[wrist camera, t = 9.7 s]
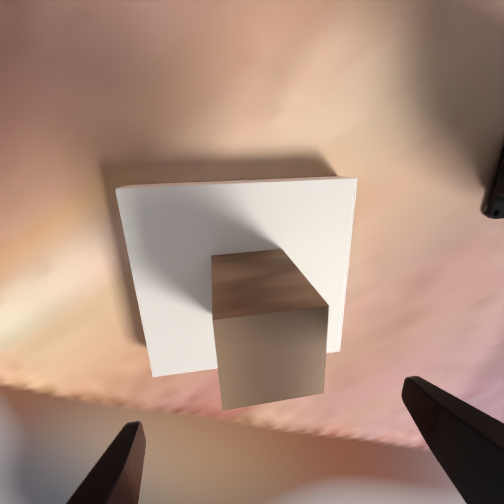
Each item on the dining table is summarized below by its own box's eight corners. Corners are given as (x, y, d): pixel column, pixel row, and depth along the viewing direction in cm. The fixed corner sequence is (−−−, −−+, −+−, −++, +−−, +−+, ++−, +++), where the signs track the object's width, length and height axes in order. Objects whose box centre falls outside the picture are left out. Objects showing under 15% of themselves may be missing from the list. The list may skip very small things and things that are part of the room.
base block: (338, 176, 18) (357, 178, 16) (326, 331, 22) (339, 351, 20) (128, 184, 16) (114, 188, 14) (159, 352, 21) (153, 377, 18)
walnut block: (281, 248, 17) (329, 305, 10) (282, 309, 18) (323, 393, 12) (211, 255, 16) (212, 320, 9) (217, 317, 18) (222, 410, 11)
